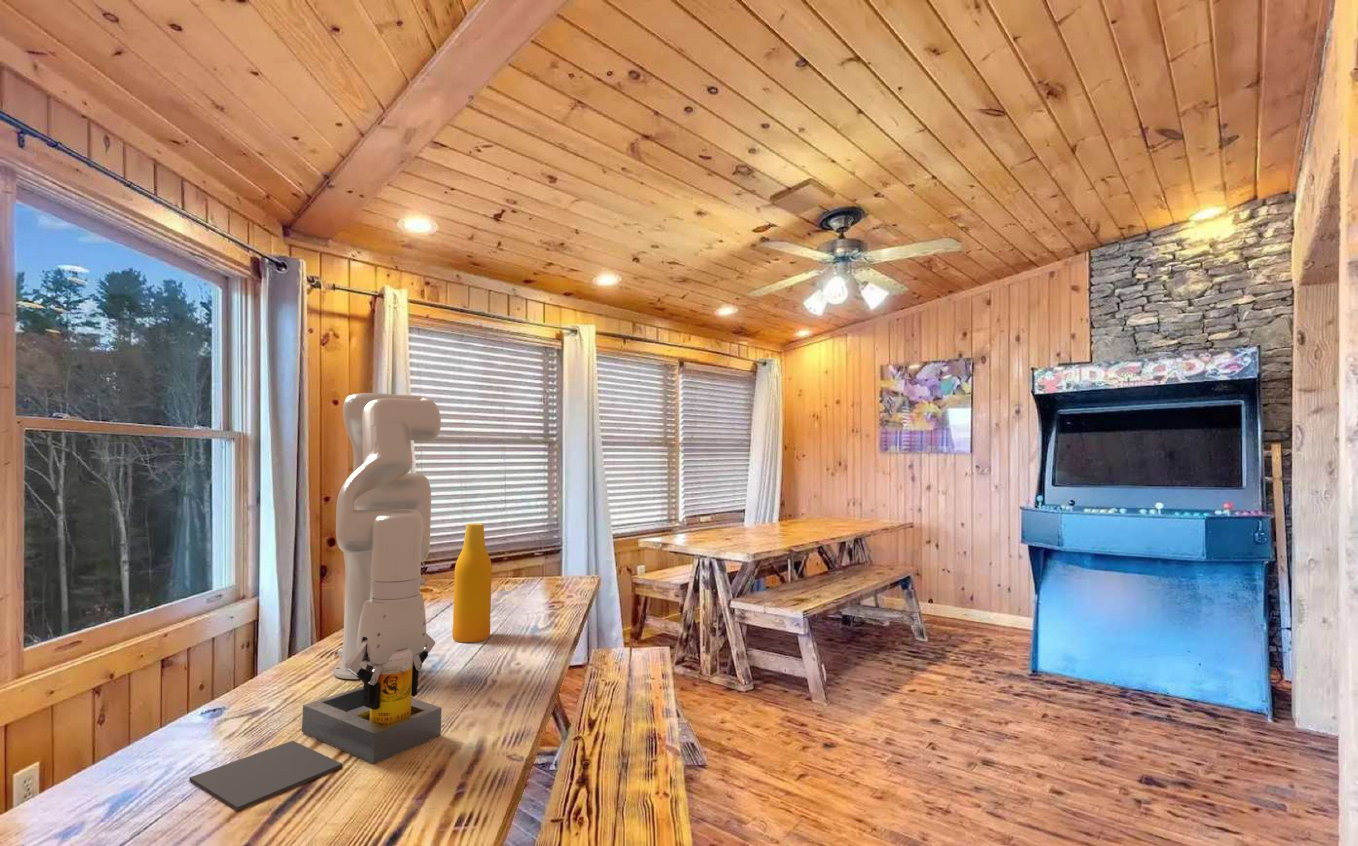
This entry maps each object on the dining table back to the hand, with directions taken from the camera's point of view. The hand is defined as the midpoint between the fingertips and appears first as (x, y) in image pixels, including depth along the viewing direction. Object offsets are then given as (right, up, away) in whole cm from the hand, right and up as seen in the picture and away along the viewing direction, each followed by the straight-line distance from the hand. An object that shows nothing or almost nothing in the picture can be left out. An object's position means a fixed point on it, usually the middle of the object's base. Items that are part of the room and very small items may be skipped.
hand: (391, 699), depth 103 cm
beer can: (0, -7, 0) cm, 7 cm away
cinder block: (-4, -7, +2) cm, 8 cm away
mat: (-13, -6, -11) cm, 18 cm away
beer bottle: (-6, -10, +58) cm, 60 cm away
